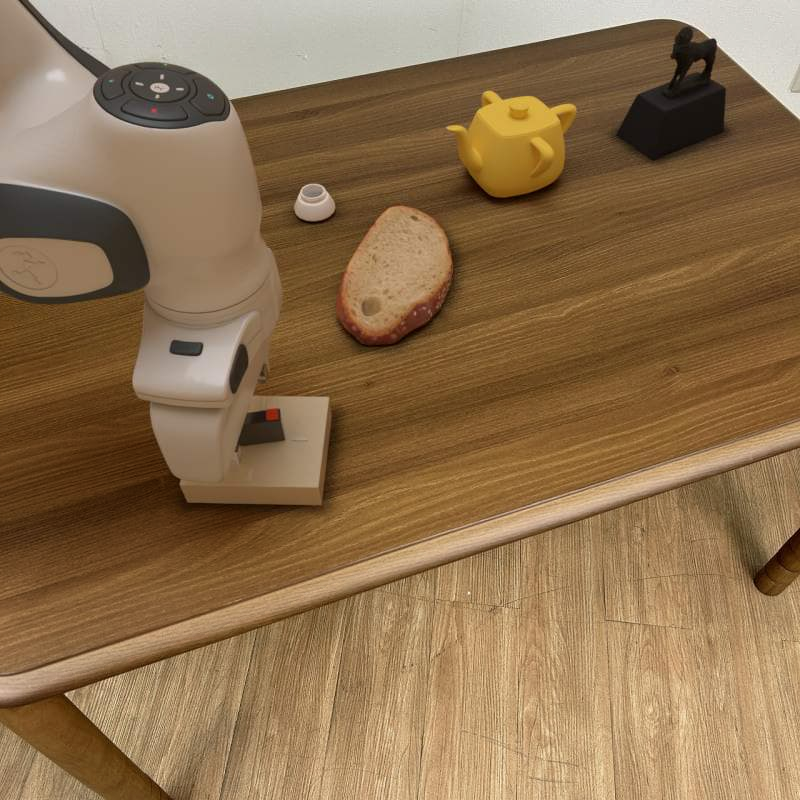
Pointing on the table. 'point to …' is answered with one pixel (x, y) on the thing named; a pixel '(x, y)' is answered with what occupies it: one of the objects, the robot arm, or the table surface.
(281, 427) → the red-tipped dark block
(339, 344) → the table surface
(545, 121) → the teapot
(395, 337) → the slice of bread
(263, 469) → the panel
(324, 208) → the lidless jar
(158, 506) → the table surface
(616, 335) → the table surface
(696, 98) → the sculpture
